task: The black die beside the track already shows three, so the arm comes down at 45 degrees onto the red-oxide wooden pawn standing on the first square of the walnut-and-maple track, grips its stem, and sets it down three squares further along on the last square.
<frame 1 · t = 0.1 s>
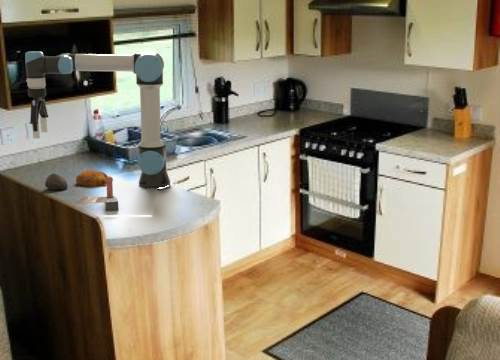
hand: (40, 135, 276), 28 cm above the worktop, tool pointing down, fingers open, 13 cm apart
track: (96, 201, 275), on the worktop
stone: (56, 189, 293), on the worktop
croissant: (93, 184, 302), on the worktop
die: (111, 211, 264), on the worktop
pawn: (110, 199, 276), point 1 cm above the worktop, touching track
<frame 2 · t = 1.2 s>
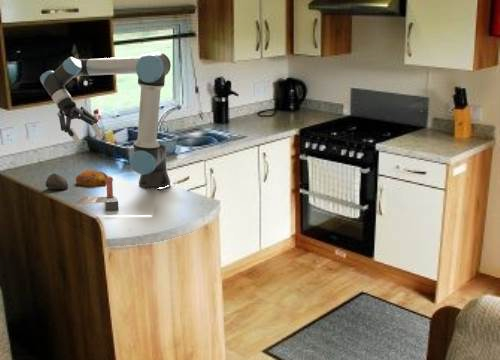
hand: (89, 138, 274), 27 cm above the worktop, tool tilted 45°, fingers open, 13 cm apart
nothing on the worktop moved.
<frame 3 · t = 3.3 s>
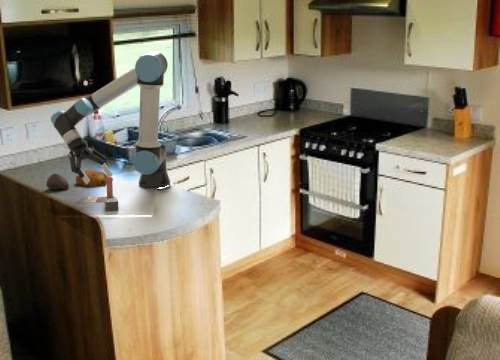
hand: (99, 179, 275), 10 cm above the worktop, tool tilted 45°, fingers open, 13 cm apart
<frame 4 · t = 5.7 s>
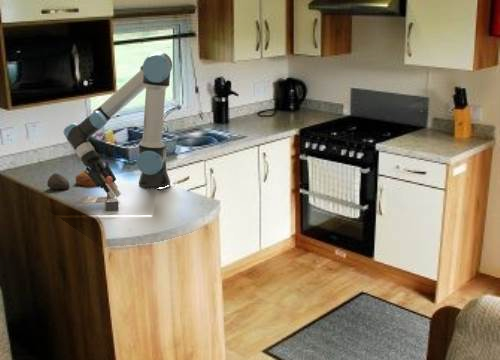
hand: (116, 196, 273), 3 cm above the worktop, tool tilted 45°, fingers closed on pawn, 2 cm apart
pawn: (110, 199, 276), point 1 cm above the worktop, touching gripper
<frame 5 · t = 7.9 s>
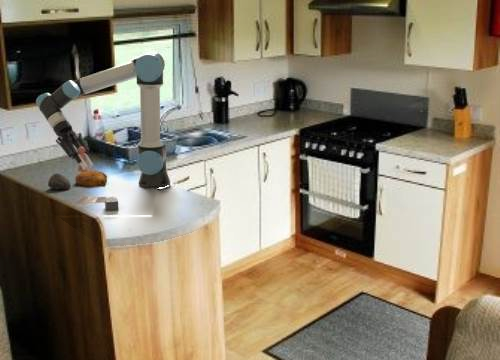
hand: (88, 167, 268), 16 cm above the worktop, tool tilted 45°, fingers closed on pawn, 2 cm apart
pawn: (82, 170, 271), point 14 cm above the worktop, touching gripper
when the fingers open (4 cm above the worktop, at t = 10.4 s): pawn drops 1 cm, resting on track.
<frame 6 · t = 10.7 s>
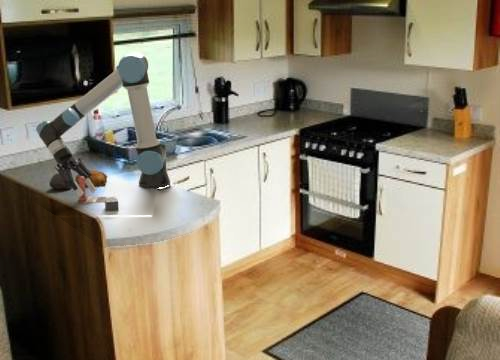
hand: (87, 193, 272), 5 cm above the worktop, tool tilted 45°, fingers open, 7 cm apart
pawn: (82, 199, 275), point 1 cm above the worktop, touching track
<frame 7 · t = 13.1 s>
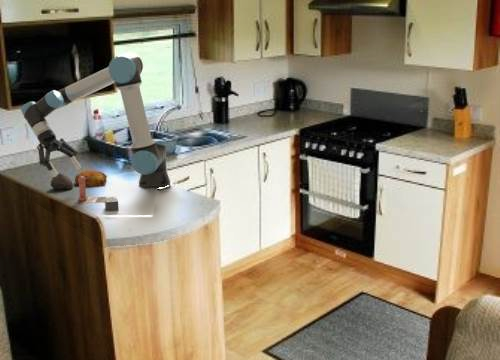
hand: (68, 172, 278), 12 cm above the worktop, tool tilted 40°, fingers open, 13 cm apart
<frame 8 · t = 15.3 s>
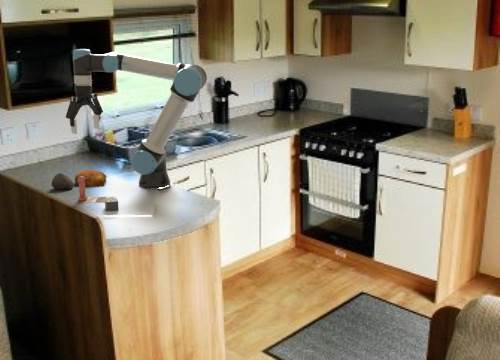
hand: (85, 131, 282), 29 cm above the worktop, tool pointing down, fingers open, 13 cm apart
at the end: pawn 0.0 cm from the target spot, point 0.9 cm above the worktop; pawn tilted 1°; the gripper is holding nothing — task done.
